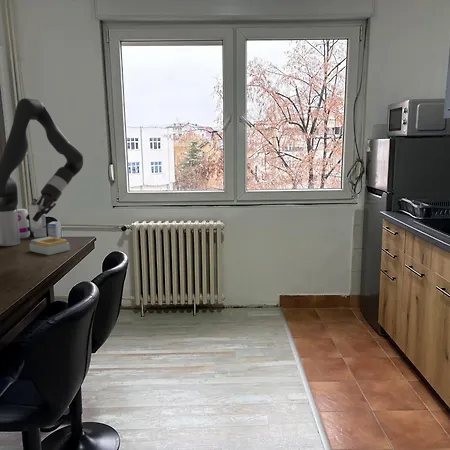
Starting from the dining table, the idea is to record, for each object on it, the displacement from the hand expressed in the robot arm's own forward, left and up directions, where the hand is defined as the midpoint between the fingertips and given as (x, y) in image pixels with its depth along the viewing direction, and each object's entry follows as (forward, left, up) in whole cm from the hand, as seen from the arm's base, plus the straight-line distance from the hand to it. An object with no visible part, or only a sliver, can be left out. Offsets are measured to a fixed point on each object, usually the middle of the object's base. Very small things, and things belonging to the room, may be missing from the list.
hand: (31, 219), depth 176 cm
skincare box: (-45, +31, -18) cm, 58 cm away
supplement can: (-53, +25, -18) cm, 61 cm away
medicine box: (-33, +32, -18) cm, 49 cm away
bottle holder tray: (-12, +15, -18) cm, 26 cm away
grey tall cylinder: (0, +2, -5) cm, 5 cm away
